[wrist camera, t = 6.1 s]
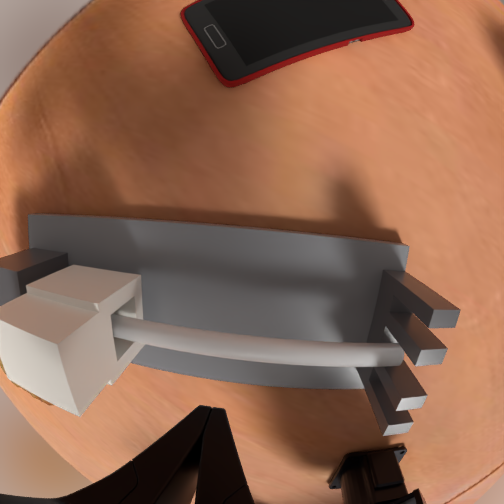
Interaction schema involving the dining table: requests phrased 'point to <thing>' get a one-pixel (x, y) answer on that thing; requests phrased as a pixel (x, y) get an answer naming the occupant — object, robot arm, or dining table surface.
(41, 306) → the notched white block
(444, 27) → the dining table surface
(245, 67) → the cell phone
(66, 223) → the cable rail
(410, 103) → the dining table surface
